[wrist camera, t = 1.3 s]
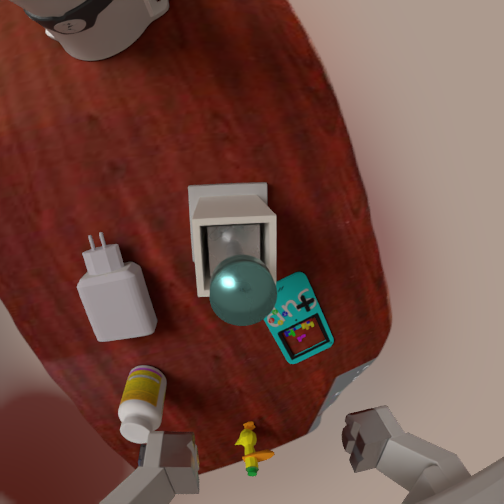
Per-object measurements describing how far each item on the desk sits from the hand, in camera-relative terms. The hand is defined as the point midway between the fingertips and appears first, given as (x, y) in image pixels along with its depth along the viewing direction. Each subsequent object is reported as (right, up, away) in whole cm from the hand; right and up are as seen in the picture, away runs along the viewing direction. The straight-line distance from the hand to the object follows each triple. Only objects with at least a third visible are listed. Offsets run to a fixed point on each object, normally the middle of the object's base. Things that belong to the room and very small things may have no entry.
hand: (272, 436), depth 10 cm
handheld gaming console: (+6, -4, +40) cm, 40 cm away
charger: (-21, +3, +34) cm, 40 cm away
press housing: (-4, +11, +33) cm, 35 cm away
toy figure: (-1, -26, +46) cm, 53 cm away
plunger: (-3, +7, +22) cm, 24 cm away
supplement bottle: (-18, -15, +40) cm, 46 cm away
